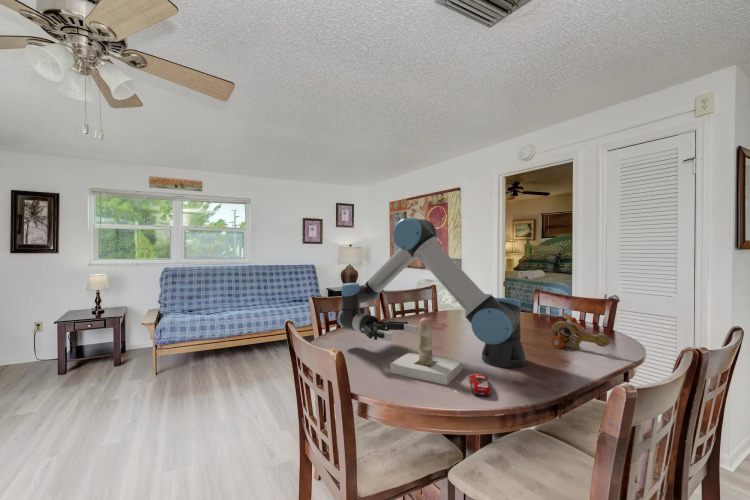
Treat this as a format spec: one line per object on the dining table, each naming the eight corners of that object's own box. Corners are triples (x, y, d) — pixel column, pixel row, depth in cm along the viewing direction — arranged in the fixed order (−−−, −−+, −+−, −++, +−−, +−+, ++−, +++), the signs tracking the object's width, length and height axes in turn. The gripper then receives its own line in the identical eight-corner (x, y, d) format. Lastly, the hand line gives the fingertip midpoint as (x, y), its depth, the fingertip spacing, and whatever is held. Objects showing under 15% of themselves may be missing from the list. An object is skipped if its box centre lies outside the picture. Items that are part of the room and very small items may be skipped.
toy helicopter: (556, 342, 145) (556, 310, 145) (613, 354, 129) (613, 318, 129) (547, 346, 140) (547, 313, 140) (605, 359, 124) (605, 322, 124)
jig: (461, 370, 115) (461, 361, 115) (447, 385, 103) (447, 375, 103) (408, 360, 125) (408, 352, 125) (390, 372, 114) (390, 363, 114)
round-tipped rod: (434, 370, 115) (434, 317, 115) (429, 374, 111) (428, 319, 111) (422, 368, 117) (422, 315, 117) (417, 372, 113) (416, 318, 113)
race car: (468, 379, 108) (468, 367, 108) (486, 380, 107) (486, 368, 107) (471, 397, 95) (471, 383, 95) (492, 399, 94) (491, 384, 94)
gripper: (388, 327, 145) (427, 337, 129) (341, 339, 128) (379, 351, 112) (387, 310, 145) (427, 317, 129) (341, 319, 128) (379, 329, 112)
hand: (405, 333), depth 121 cm, fingers open, 13 cm apart
